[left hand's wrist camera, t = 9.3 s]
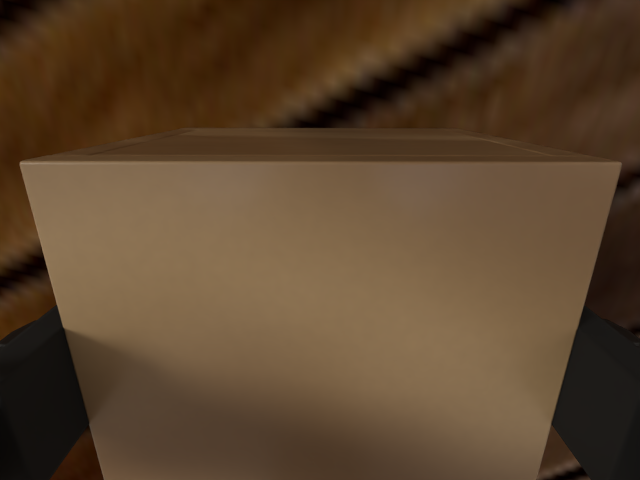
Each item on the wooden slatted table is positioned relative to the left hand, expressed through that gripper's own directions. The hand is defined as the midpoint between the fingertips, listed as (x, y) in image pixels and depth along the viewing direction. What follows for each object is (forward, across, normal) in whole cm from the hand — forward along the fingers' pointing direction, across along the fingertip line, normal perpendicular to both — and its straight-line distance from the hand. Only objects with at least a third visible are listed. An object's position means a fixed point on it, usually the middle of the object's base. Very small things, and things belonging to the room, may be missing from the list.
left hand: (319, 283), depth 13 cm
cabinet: (+4, 0, -3) cm, 5 cm away
